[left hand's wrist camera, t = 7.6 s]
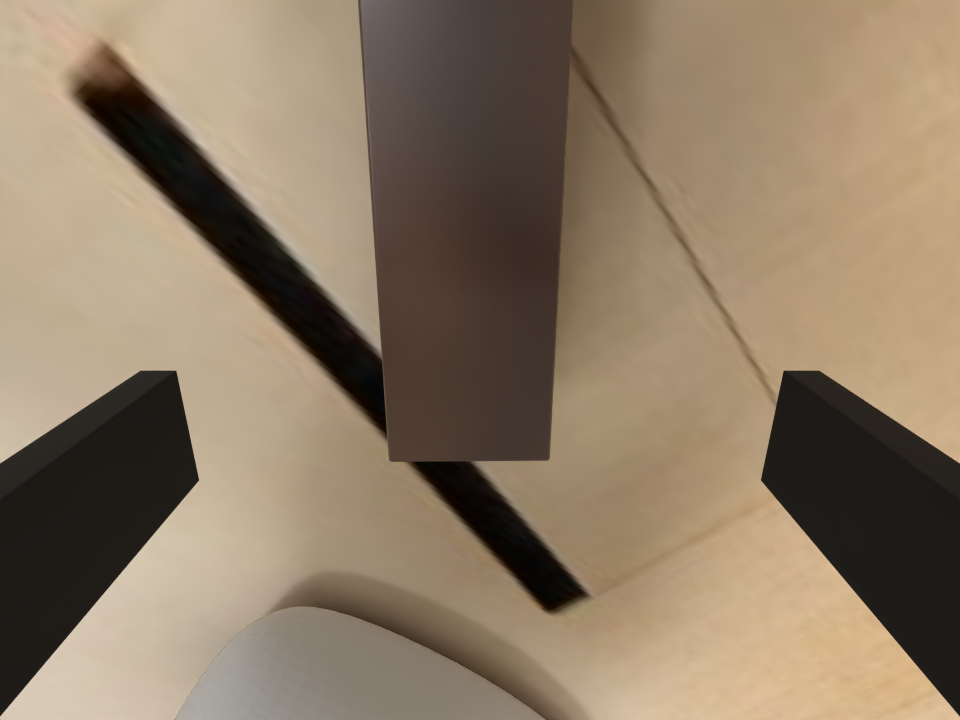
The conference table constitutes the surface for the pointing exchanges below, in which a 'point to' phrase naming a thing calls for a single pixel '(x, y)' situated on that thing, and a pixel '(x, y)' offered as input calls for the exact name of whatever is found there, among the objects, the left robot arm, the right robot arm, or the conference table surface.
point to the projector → (339, 676)
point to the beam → (467, 219)
